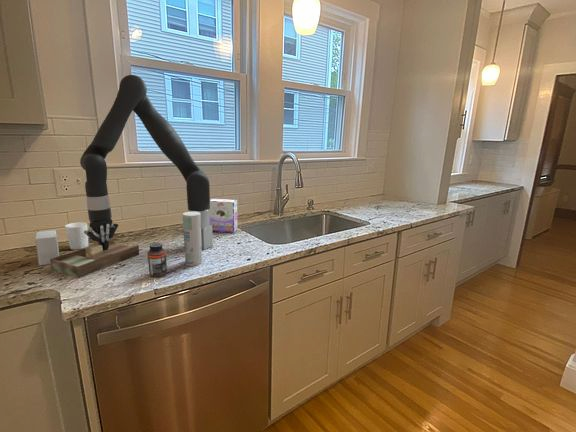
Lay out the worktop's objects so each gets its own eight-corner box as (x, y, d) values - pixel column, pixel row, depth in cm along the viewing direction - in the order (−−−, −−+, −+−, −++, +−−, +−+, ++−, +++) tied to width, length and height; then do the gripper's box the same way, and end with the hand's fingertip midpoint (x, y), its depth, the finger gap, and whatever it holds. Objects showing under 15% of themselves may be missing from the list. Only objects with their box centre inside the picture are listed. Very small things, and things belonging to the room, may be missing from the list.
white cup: (94, 245, 139) (91, 223, 136) (77, 251, 132) (74, 228, 129) (81, 242, 141) (78, 221, 139) (63, 248, 134) (60, 226, 132)
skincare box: (60, 262, 120) (56, 236, 118) (38, 266, 117) (34, 239, 114) (60, 253, 128) (56, 229, 126) (40, 257, 125) (35, 231, 122)
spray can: (205, 263, 124) (203, 213, 119) (190, 267, 119) (187, 216, 114) (197, 258, 128) (194, 210, 123) (182, 262, 124) (179, 213, 119)
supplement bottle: (152, 270, 116) (150, 241, 113) (169, 270, 116) (167, 241, 113) (146, 278, 110) (144, 247, 107) (164, 277, 110) (162, 247, 108)
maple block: (103, 255, 122) (102, 245, 121) (93, 259, 118) (92, 248, 117) (96, 253, 123) (95, 244, 122) (86, 257, 120) (85, 247, 119)
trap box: (139, 254, 130) (138, 245, 129) (78, 278, 108) (76, 267, 107) (114, 248, 136) (113, 239, 135) (51, 269, 114) (50, 259, 113)
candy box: (237, 230, 167) (237, 199, 163) (234, 233, 162) (233, 201, 158) (213, 228, 170) (212, 197, 165) (208, 231, 164) (207, 200, 160)
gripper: (88, 212, 112) (94, 257, 117) (121, 204, 124) (126, 246, 128) (74, 209, 115) (81, 253, 120) (108, 202, 127) (113, 243, 131)
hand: (104, 249), depth 124 cm, fingers closed
